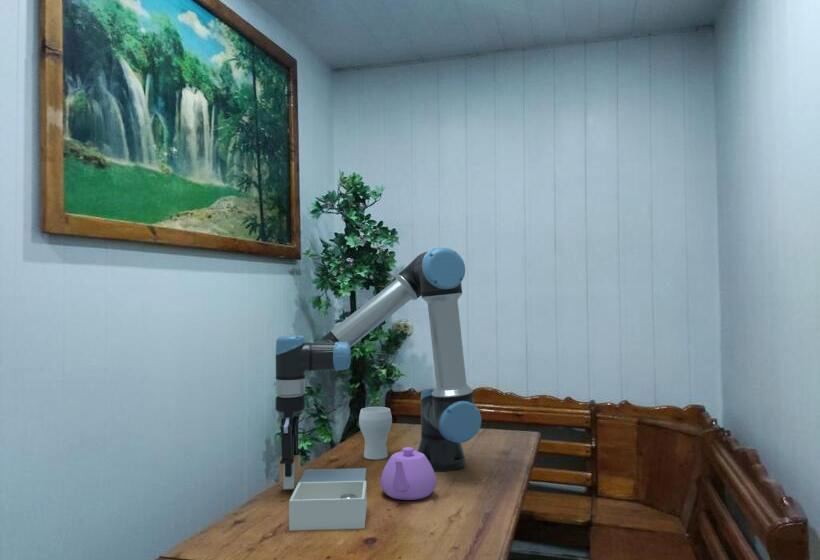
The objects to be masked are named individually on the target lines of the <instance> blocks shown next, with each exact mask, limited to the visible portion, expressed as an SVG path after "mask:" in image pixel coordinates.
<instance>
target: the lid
mask: <svg viewBox="0 0 820 560" xmlns="http://www.w3.org/2000/svg"><path fill="white" fill-rule="evenodd" d="M281 460H282V454H281V455H280V456H279V458H278V482H279V483H283V464H280V461H281ZM293 460H294V482H297V483H299V482H336V481H366V479H367V472H368V471H367V467H362V468H361V467H359V468H356V467H355V468H354V467H353V468H314V469H313V468H311V469H310V468H308V469H305V470H304V472H301V470H302V469H301V468H302V467H301V462H302V461H301V460H302V457H301V454H300V455H294V458H293ZM301 473H302V475H301Z"/></svg>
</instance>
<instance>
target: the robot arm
mask: <svg viewBox="0 0 820 560" xmlns="http://www.w3.org/2000/svg"><path fill="white" fill-rule="evenodd" d="M465 274H466V265H465V262H464V259H463V258H462V257H461V255H460V254H459V253H458V252H457V251H455V250H453V249H452V248H449V247H437V248H432V249H430V250H428V251H425V252H422V253H420V254H419V255H417V256H416V257H415V258H414V259H413V260H412V261H411V262H410V263H409V264H408V265H406V267H404V268H403V269H402V270H401V271H400V272H399V273H397V274H396V275H395V280H394V281H392V282H391V283H390V284H389V285H387V286H386V287H385V288H383V289H381V291H380V292H378V293H377V294H376V295H375V296H373V297H372V298H371V299H369V300H368V301H367V302H365V303H364V304H363V305H361V306H360V307H359V308H358V309H357V310H355V311H354V312H352V314H350V315H349V316H348V317H347V318H345V319H344V320H342V322H340V323H338V325H337V324H336V326H335V327H334V328H332V329H331V330H330V331H329V332H327V333H326V334H325V335H323V336H322V337H321V338H319V339H316V340H315V341H313V342H307V341H306V338H305V336H304V335H297V334H296V335H281V336H278V338H277V339H276V341H275V382H273V386H274V387H275V394H276V395H277V396H275V410H276V411H277V412H280V413H283V418H281V423H280V424H281V425H280V428H279V429H280V435H281V437H280V439H281V441H280V442H281V455H282V460H281V461H280V464H283V482H282V485H283V487H282V488H283V490H295V485H298V482H294V460H293V458H294V455H301V454H300V453H299V430H300V429H299V424H300V423H299V422H300V415H299V414H298V412H302V411H303V410H305V408H306V396H305V395H304V394H305V393H306V372H317V371H318V372H319V371H321V372H323V371H327V372H328V371H336V372H339V371H344V370H349V368H350V366H351V362H352V361H351V359H352V357H351V355H352V354H351V351H352V350H351V348H352V347H353V346H355V345H356V344H357V343H358V342H359V341H361V340H362V339H363V338H364V337H366V336H367V335H368V334H369V333H371V332H372V331H373V330H374V329H376V328H377V327H379V326H380V325H381V324H382V323H383V322H385V321H386V320H387V319H388V318H390V317H391V316H392V315H394V314H395V313H396V312H397V311H398V310H400V309H401V308H402V307H404V306H405V305H406V304H407V303H409V302H410V301H411V300H412V301H417V300H418V299H419V298H420V297H421V299H422V300H424V301H425V302H426V303H427V309H428V320H429V328H430V339H431V348H432V357H433V367H434V376H435V377H434V378H435V384H436V385H435V386H436V387H432V388H425V389H424V388H423V389H422V390H421V393H420V398H419V401H420V432H421V433H420V438H421V439H420V442H419V445H418V448H417V451H418V452H421V453H423V454H424V455H425V456H426V458H427V459H428V461H429V462H430V464H431V466H432V468H433V470H434V472H448V471H456V470H459V469H462V468H463V467H465V465H466V455H465V451H464V449H463V446H462V443H466V442H468V441H470V440H472V439H473V438H474V437H475V436H476V435H477V434H479V431H480V428H481V425H482V415H481V412H480V410H479V408H478V406H476V405H475V398H474V392H473V388H471V387H470V386H469V385H468V384H467V377H466V376H467V374H466V367H465V365H466V364H465V358H464V357H465V356H464V349H463V348H464V346H463V338H462V330H461V329H462V328H461V319H460V318H461V317H460V310H459V299H460V297H461V296H462V295H463V288H462V282H463V280H464V278H465Z"/></svg>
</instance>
